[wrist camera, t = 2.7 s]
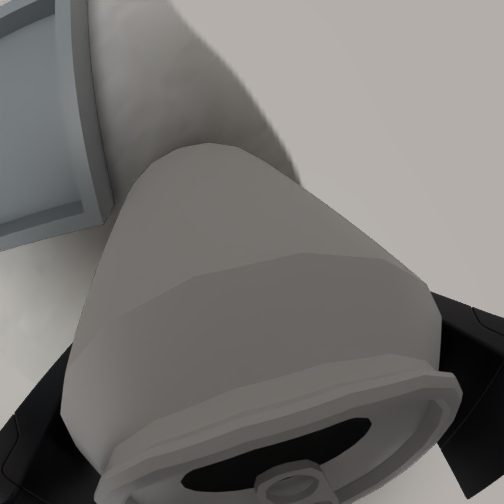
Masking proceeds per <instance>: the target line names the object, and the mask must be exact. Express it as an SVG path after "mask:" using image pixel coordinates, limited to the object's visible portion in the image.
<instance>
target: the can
mask: <svg viewBox="0 0 504 504" xmlns="http://www.w3.org/2000/svg"><path fill="white" fill-rule="evenodd" d="M441 323H442V316H441V314H440V312H439V310H438V308H437V305H436V303H435V301H434V299H433V297H432V295H431V292H430V290H429V288H428V286H427V284H426V283H424V282H423V281H422V280H421V279H420V278H419V277H417V276H416V275H415V274H414V273H413V272H412V271H411V270H409V269H408V268H407V267H406V266H405V265H403V264H402V263H401V262H400V261H399V260H397V259H396V258H395V257H394V256H392V255H391V254H390V253H389V252H388V251H386V250H385V249H384V248H383V247H381V246H380V245H379V244H378V243H376V242H375V241H374V240H373V239H371V238H370V237H369V236H367V235H366V234H365V233H363V232H362V231H361V230H360V229H358V228H357V227H356V226H354V225H353V224H352V223H351V222H349V221H348V220H347V219H345V218H344V217H343V216H341V215H340V214H339V213H337V212H336V211H335V210H333V209H332V208H330V207H329V206H328V205H326V204H325V203H324V202H322V201H321V200H319V199H318V198H316V197H315V196H314V195H312V194H311V193H310V192H308V191H307V190H306V189H304V188H303V187H301V186H300V185H298V184H297V183H296V182H294V181H293V180H291V179H290V178H288V177H287V176H285V175H284V174H282V173H281V172H280V171H278V170H277V169H275V168H274V167H272V166H271V165H269V164H268V163H266V162H265V161H263V160H261V159H260V158H258V157H256V156H254V155H252V154H250V153H248V152H246V151H244V150H242V149H240V148H238V147H235V146H228V145H222V144H214V143H203V144H197V145H192V146H187V147H182V148H178V149H176V150H174V151H172V152H170V153H169V154H167V155H165V156H163V157H162V158H160V159H158V160H156V161H155V162H153V163H151V165H150V166H149V167H148V168H147V169H146V170H145V171H144V172H143V173H142V175H141V176H140V177H139V178H138V179H137V180H136V181H135V183H134V184H133V185H132V187H131V189H130V191H129V193H128V195H127V198H126V200H125V202H124V204H123V206H122V208H121V211H120V213H119V215H118V218H117V220H116V222H115V224H114V227H113V229H112V232H111V234H110V236H109V239H108V241H107V244H106V246H105V249H104V251H103V254H102V256H101V259H100V262H99V264H98V267H97V270H96V272H95V275H94V278H93V281H92V284H91V286H90V289H89V292H88V295H87V298H86V301H85V304H84V307H83V311H82V314H81V317H80V320H79V324H78V327H77V330H76V334H75V337H74V341H73V345H72V348H71V352H70V356H69V360H68V364H67V368H66V372H65V378H64V386H63V394H62V402H61V412H60V414H61V417H62V419H63V421H64V423H65V425H66V427H67V429H68V431H69V433H70V435H71V437H72V439H73V441H74V443H75V445H76V447H77V448H78V449H79V450H80V452H81V453H82V454H83V455H84V457H85V458H86V459H87V460H88V461H89V462H90V464H91V465H92V466H93V467H94V468H95V469H96V470H97V472H98V473H99V474H100V475H101V478H100V481H99V483H98V486H97V488H96V491H95V493H94V501H95V502H96V503H97V504H351V503H353V502H355V501H357V500H359V499H361V498H363V497H365V496H366V495H368V494H370V493H372V492H374V491H375V490H377V489H379V488H381V487H382V486H384V485H385V484H386V483H388V482H390V481H391V480H393V479H394V478H395V477H397V476H398V475H400V474H401V473H403V472H404V471H405V470H407V469H408V468H409V467H411V466H412V465H413V464H414V463H415V462H417V461H418V460H419V459H420V458H421V457H422V456H423V455H424V454H425V453H426V452H428V450H430V449H431V448H432V446H434V445H435V444H436V443H437V442H438V440H439V439H440V438H441V437H442V435H443V434H444V433H445V432H446V430H447V429H448V428H449V426H450V425H451V424H452V422H453V421H454V419H455V416H456V414H457V411H458V409H459V406H460V403H461V400H462V395H463V392H462V390H461V388H460V385H459V383H458V381H457V379H456V377H455V376H454V375H453V373H449V372H440V371H438V370H439V359H440V345H441Z"/></svg>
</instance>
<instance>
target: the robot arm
mask: <svg viewBox="0 0 504 504" xmlns="http://www.w3.org/2000/svg"><path fill="white" fill-rule="evenodd" d="M431 295H432V297H433V299H434V301H435V303H436V305H437V308H438V310H439V312H440V314H441V316H442V323H441V345H440V359H439V370H438V371H440V372H449V373H453V375H454V376H455V377H456V379H457V381H458V383H459V385H460V388H461V390H462V392H463V395H462V400H461V403H460V406H459V409H458V411H457V414H456V416H455V419H454V421H453V422H452V424H451V425H450V426H449V428H448V429H447V430H446V432H445V433H444V434H443V435H442V437H441V438H440V439H439V440H438V442H437V444H438V445H439V447H440V448H441V451H442V453H443V455H444V457H445V459H446V460H447V462H448V464H449V466H450V468H451V470H452V471H453V473H454V475H455V477H456V479H457V481H458V483H459V485H460V487H461V489H462V491H463V493H464V495H465V497H466V498H467V499H470V498H471V497H473V496H474V495H476V494H477V493H479V492H480V491H482V490H483V489H485V488H486V487H488V486H489V485H491V484H492V483H493V482H494V481H496V480H497V479H499V478H500V477H501V476H503V475H504V318H502V317H499V316H496V315H493V314H490V313H488V312H485V311H482V310H479V309H477V308H474V307H472V308H471V306H469V305H466V304H463V303H461V302H458V301H455V300H452V299H450V298H447V297H444V296H441V295H439V294H436V293H433V292H431ZM72 345H73V343H72V344H71V345H70V346H69V347H68V348H67V349H66V351H65V352H64V353H63V354H62V355H61V356H60V358H59V359H58V360H57V361H56V362H55V363H54V365H53V366H52V367H51V368H50V369H49V370H48V372H47V373H46V374H45V375H44V376H43V378H42V379H41V380H40V381H39V382H38V384H37V385H36V386H35V388H34V389H33V390H32V391H31V392H30V394H29V395H28V396H27V397H26V398H25V400H24V401H23V402H22V404H21V405H20V406H19V407H18V409H17V410H16V411H15V415H12V416H11V418H10V419H9V420H8V422H7V423H6V424H5V425H4V427H3V428H2V429H1V431H0V504H97V503H96V502H95V501H94V493H95V491H96V488H97V486H98V483H99V481H100V478H101V475H100V474H99V473H98V472H97V470H96V469H95V468H94V467H93V466H92V465H91V464H90V462H89V461H88V460H87V459H86V458H85V457H84V455H83V454H82V453H81V452H80V450H79V449H78V448H77V447H76V445H75V443H74V441H73V439H72V437H71V435H70V433H69V431H68V429H67V427H66V425H65V423H64V421H63V419H62V417H61V414H60V412H61V402H62V394H63V386H64V378H65V372H66V368H67V364H68V360H69V356H70V352H71V348H72Z"/></svg>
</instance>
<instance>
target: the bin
mask: <svg viewBox="0 0 504 504" xmlns="http://www.w3.org/2000/svg"><path fill="white" fill-rule="evenodd" d="M114 204H115V201H114V197H113V193H112V188H111V184H110V179H109V175H108V170H107V166H106V161H105V156H104V151H103V145H102V140H101V134H100V128H99V122H98V116H97V109H96V102H95V95H94V87H93V79H92V70H91V59H90V47H89V31H88V2H87V0H12V1H10V2H8V3H6V4H4V5H2V6H0V252H1V251H4V250H8V249H11V248H15V247H18V246H22V245H25V244H29V243H33V242H36V241H40V240H44V239H47V238H51V237H55V236H59V235H63V234H67V233H71V232H75V231H79V230H83V229H87V228H91V227H95V226H100V225H104V223H105V221H106V219H107V217H108V215H109V213H110V211H111V209H112V207H113V206H114Z"/></svg>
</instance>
